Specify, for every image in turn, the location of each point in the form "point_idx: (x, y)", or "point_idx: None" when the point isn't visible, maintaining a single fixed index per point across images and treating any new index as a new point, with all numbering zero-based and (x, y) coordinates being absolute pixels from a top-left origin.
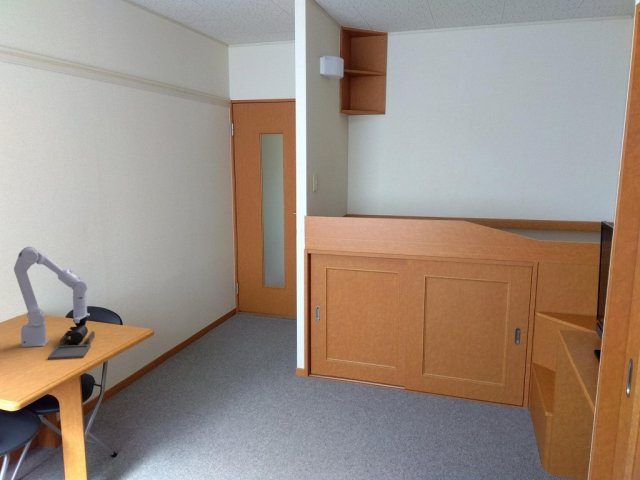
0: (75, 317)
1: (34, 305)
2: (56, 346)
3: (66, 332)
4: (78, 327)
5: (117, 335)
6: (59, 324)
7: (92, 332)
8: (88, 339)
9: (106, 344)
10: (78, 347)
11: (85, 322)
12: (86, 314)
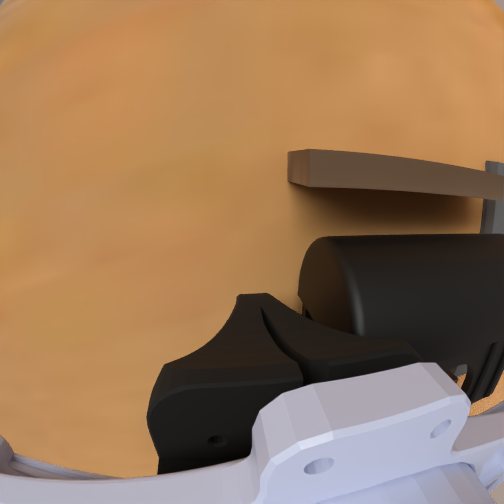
0: (488, 491)
1: None
2: (458, 375)
3: (490, 393)
4: (468, 351)
5: None
6: (14, 450)
7: (354, 168)
8: (499, 184)
9: (459, 50)
10: None
11: (275, 345)
12: (413, 474)
